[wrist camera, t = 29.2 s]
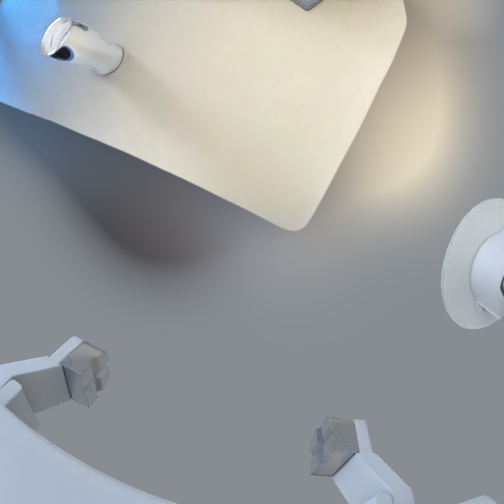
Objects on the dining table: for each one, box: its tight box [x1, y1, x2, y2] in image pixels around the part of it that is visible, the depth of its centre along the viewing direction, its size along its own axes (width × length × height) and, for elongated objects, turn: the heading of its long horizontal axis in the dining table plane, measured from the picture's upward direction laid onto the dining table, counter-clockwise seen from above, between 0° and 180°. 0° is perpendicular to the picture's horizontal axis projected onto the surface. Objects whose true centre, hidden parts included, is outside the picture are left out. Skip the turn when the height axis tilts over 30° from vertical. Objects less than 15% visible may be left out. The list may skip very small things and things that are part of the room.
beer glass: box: [40, 16, 123, 75], centre depth 29 cm, size 7×7×15 cm
